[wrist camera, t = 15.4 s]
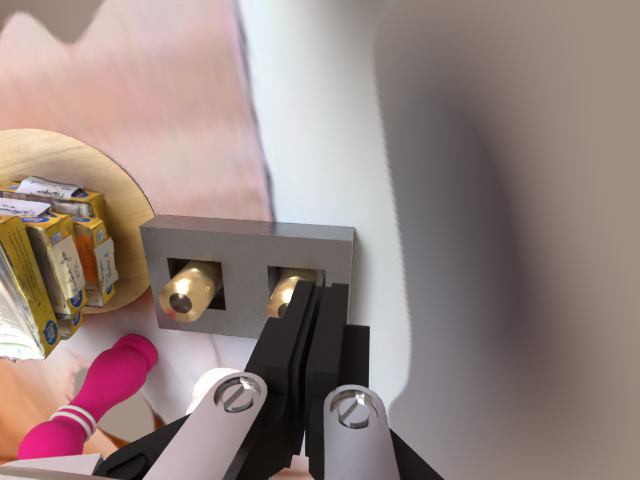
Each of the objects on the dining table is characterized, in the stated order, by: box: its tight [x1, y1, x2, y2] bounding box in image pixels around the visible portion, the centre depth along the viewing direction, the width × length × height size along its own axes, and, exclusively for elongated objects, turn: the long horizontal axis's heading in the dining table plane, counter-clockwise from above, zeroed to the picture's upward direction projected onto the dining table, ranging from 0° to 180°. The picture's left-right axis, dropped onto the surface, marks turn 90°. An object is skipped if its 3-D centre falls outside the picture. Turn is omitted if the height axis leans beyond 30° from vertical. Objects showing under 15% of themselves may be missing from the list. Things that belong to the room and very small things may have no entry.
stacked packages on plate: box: [0, 129, 155, 363], centre depth 39 cm, size 25×25×17 cm
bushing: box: [267, 267, 323, 318], centre depth 41 cm, size 5×5×8 cm
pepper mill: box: [18, 334, 157, 460], centre depth 45 cm, size 7×7×20 cm
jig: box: [139, 215, 354, 339], centre depth 42 cm, size 14×24×8 cm, turn 89°
